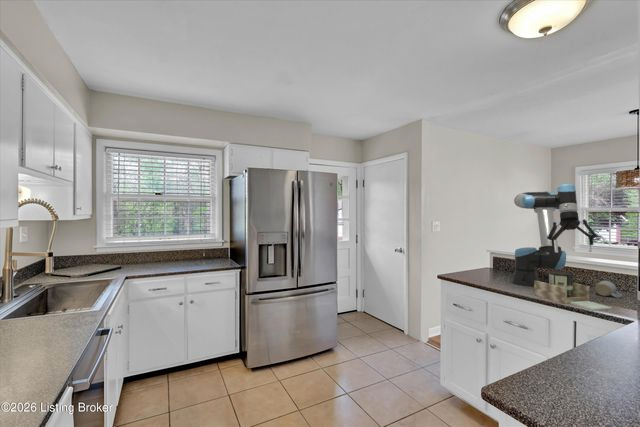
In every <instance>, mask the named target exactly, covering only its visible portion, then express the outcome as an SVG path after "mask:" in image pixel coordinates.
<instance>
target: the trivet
mask: <svg viewBox="0 0 640 427" xmlns="http://www.w3.org/2000/svg"><path fill="white" fill-rule="evenodd" d="M569 304H571V305H574V306H577V307H580V308H584V309H587V310H590V311H602V310H604V311H605V310H613V307H612V306H607V305H605V304H601V303H597V302H593V301H590V300H589V301H577V302H570V303H569Z"/></svg>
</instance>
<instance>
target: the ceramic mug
mask: <svg viewBox="0 0 640 427" xmlns="http://www.w3.org/2000/svg"><path fill="white" fill-rule="evenodd" d="M594 290H595V293H597V294H598V295H599V296H602V297H608V296H612V297H615V298H617V299H621V298H622V297H623V294H622V293H621V292H619V291H617V287H616V285H615V284H614V283H613V282H611V281H609V280H601V281H600V282H598V283H597V284H596V285H595V287H594Z"/></svg>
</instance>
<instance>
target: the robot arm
mask: <svg viewBox="0 0 640 427" xmlns="http://www.w3.org/2000/svg"><path fill="white" fill-rule="evenodd" d="M576 190H577V189H576V186H575V184H572V183H563V184H560V185H558V186H557V190H556V191H557V194H556V192H554V191H532V192H531V191H529V192H528V191H526V192H521V193H519V194H517V195H516V196H515V197H514V199H513V201H514V204H515V206H516V207H518V208H521V209H530V210H531V209H532V210H533V211H534V213H535V214H537V215H536V216H537V221H538V222H537V223H538V230H539V237H540V238H539V239H540V246H539V247H538V249H537V248H536V247H519V248H515V250H514V273H513V275H512V278H511V282H512V284H516V285H519V286H525V287H526V286H528V287H534V281H540V280H539V276H538V273H537V269H545V270H546V269H547V270H548V269H549V270H562V269H564V267H565V265H566V262H567V253H566V251H565V250H562V247H561V246H559V244H558V238H559V236H560V235H562V234H563V233H564V231H566V230H567V231H570V230H571V231H573V230H577V231H580V232H581V233H582V234H583V235H585V236H587V237H588V238H586V241H587V243H586V244H587V252H589V253H592V246H593V245H594V239H595V238H597V237H598V234H597V233H596V232H595V231H594V230H593V229H592V228H591V227H590V225H589V223H588V221H587V220H586V219H585V218H584V219H582V220H580V219H579V210H578V202H577V193H576V192H577V191H576ZM555 210H559V219H560V221H559V222H556V221H555V218H554V212H555ZM581 224H582V225H583V226H584V227H585V228H586V229H587V230H588V232H589V233H590V234H589V233H588V232H587V231H585V230H584V229H583V228H581V227H580V225H581ZM559 226H561V227H559ZM558 227H559V229H558ZM557 229H558V230H557Z"/></svg>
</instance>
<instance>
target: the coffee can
mask: <svg viewBox="0 0 640 427" xmlns="http://www.w3.org/2000/svg"><path fill="white" fill-rule="evenodd" d="M573 275H574V273H573V272H570V271H565V270H549V271H548V284H551V285H555V286H559V287H563V288H565V298H572V297H573V283H574V282H573V281H574V280H573Z"/></svg>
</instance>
